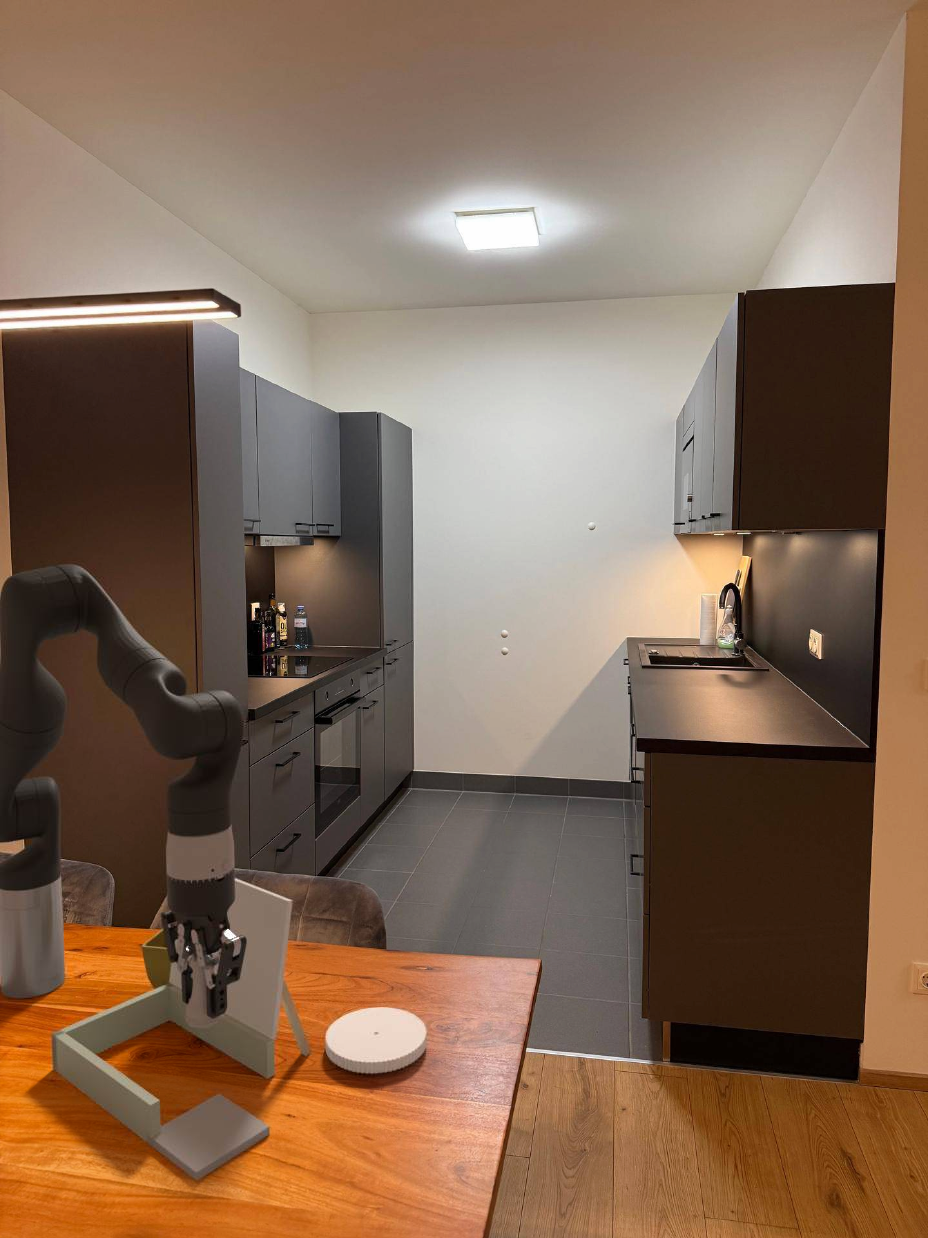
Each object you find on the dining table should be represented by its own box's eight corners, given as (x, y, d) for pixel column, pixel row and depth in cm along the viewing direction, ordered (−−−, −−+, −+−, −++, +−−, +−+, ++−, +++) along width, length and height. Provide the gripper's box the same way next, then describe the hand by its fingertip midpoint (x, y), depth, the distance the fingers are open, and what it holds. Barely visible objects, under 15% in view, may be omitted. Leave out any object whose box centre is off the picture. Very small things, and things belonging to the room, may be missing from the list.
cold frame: (53, 1070, 119) (49, 981, 118) (209, 998, 137) (207, 921, 136) (151, 1147, 103) (148, 1046, 102) (312, 1054, 122) (310, 968, 121)
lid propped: (169, 983, 132) (165, 866, 130) (191, 973, 135) (188, 859, 133) (271, 1040, 117) (269, 909, 115) (295, 1028, 120) (292, 899, 118)
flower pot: (194, 1008, 134) (192, 950, 134) (141, 1002, 136) (139, 945, 135) (221, 980, 143) (219, 926, 142) (171, 975, 145) (170, 921, 144)
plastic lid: (330, 1088, 115) (329, 1069, 115) (321, 1030, 129) (321, 1014, 128) (435, 1072, 118) (435, 1054, 118) (416, 1018, 132) (416, 1002, 132)
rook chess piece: (232, 1013, 105) (230, 948, 104) (209, 1033, 101) (207, 965, 100) (200, 1007, 106) (198, 942, 106) (176, 1026, 102) (174, 959, 102)
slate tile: (147, 1142, 104) (146, 1134, 104) (219, 1101, 112) (219, 1093, 112) (196, 1181, 98) (196, 1172, 98) (269, 1134, 105) (269, 1126, 105)
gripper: (137, 860, 104) (141, 1001, 105) (209, 890, 95) (213, 1044, 96) (193, 843, 109) (196, 977, 111) (266, 870, 100) (269, 1015, 102)
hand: (204, 1007), depth 103 cm, fingers closed on rook chess piece, 4 cm apart
